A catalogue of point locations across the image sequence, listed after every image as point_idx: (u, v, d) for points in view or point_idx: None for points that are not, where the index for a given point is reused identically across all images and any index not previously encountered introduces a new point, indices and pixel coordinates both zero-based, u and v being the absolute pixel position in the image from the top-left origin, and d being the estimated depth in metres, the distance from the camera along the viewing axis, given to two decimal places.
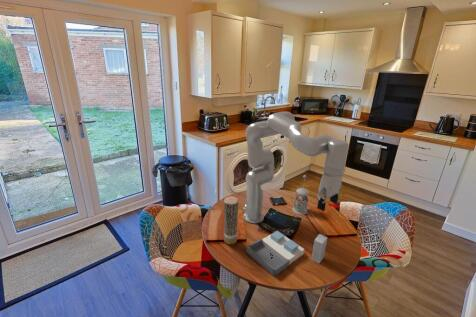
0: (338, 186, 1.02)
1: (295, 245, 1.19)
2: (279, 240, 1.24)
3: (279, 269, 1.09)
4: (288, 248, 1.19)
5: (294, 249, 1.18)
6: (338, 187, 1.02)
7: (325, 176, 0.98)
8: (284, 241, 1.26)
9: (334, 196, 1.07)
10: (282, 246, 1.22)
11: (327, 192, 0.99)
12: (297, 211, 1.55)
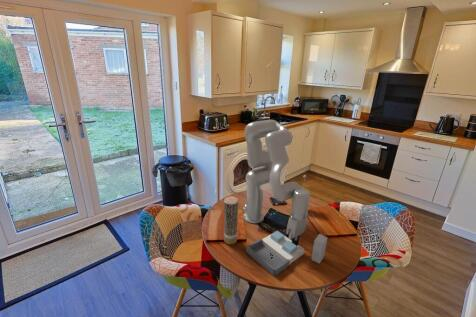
0: (303, 227, 1.18)
1: (294, 246, 1.19)
2: (279, 240, 1.24)
3: (279, 269, 1.09)
4: (287, 249, 1.18)
5: (293, 250, 1.18)
6: (303, 227, 1.18)
7: (291, 219, 1.14)
8: (284, 241, 1.26)
9: None
10: None
11: (293, 233, 1.15)
12: None
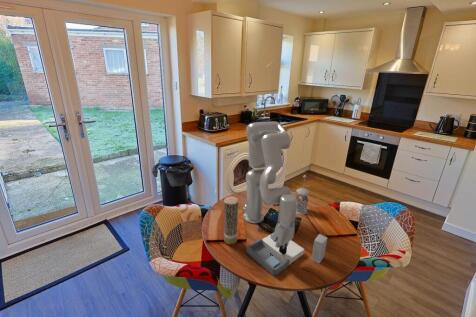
0: (291, 234, 1.12)
1: None
2: None
3: (279, 269, 1.09)
4: None
5: (276, 266, 1.12)
6: (290, 235, 1.12)
7: (278, 227, 1.09)
8: None
9: None
10: None
11: (280, 241, 1.09)
12: (297, 211, 1.55)
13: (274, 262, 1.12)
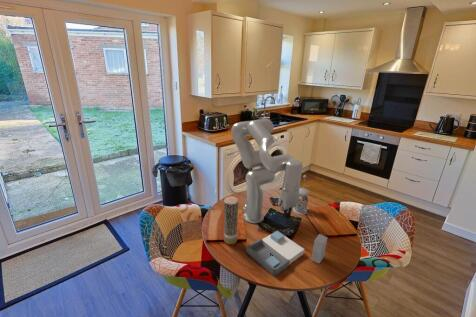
0: (295, 199, 1.17)
1: None
2: (279, 240, 1.24)
3: (279, 269, 1.09)
4: None
5: (276, 266, 1.12)
6: (295, 200, 1.17)
7: (283, 191, 1.14)
8: (284, 241, 1.26)
9: None
10: (282, 246, 1.22)
11: (284, 204, 1.14)
12: (297, 211, 1.55)
13: (274, 262, 1.12)
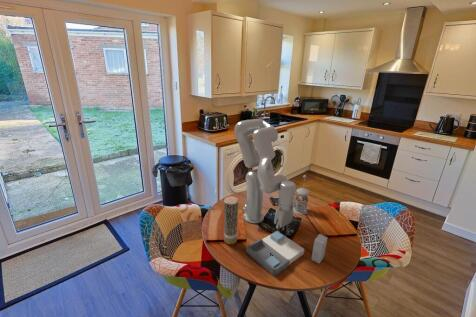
0: (290, 217, 1.25)
1: None
2: (279, 240, 1.24)
3: (279, 269, 1.09)
4: None
5: (276, 266, 1.12)
6: (290, 218, 1.25)
7: (278, 210, 1.21)
8: (284, 241, 1.26)
9: None
10: (282, 246, 1.22)
11: (280, 223, 1.22)
12: (297, 211, 1.55)
13: (274, 262, 1.12)
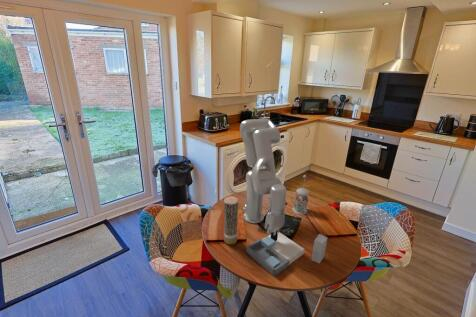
0: (281, 222, 1.21)
1: None
2: (270, 246, 1.20)
3: (279, 269, 1.09)
4: None
5: (276, 266, 1.12)
6: (281, 223, 1.20)
7: (268, 215, 1.17)
8: (284, 241, 1.26)
9: None
10: (282, 246, 1.22)
11: (270, 228, 1.17)
12: (297, 211, 1.55)
13: (274, 262, 1.12)
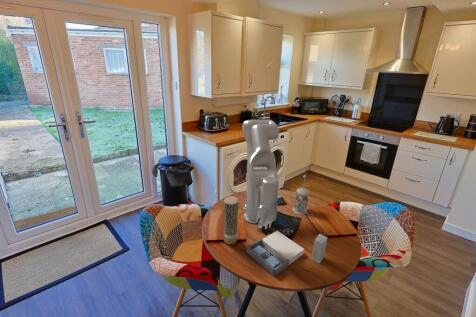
0: (273, 216, 1.15)
1: None
2: (264, 254, 1.19)
3: (279, 269, 1.09)
4: None
5: (276, 266, 1.12)
6: (272, 216, 1.15)
7: (260, 208, 1.12)
8: (284, 241, 1.26)
9: None
10: (282, 246, 1.22)
11: (261, 222, 1.12)
12: (297, 211, 1.55)
13: (274, 262, 1.12)
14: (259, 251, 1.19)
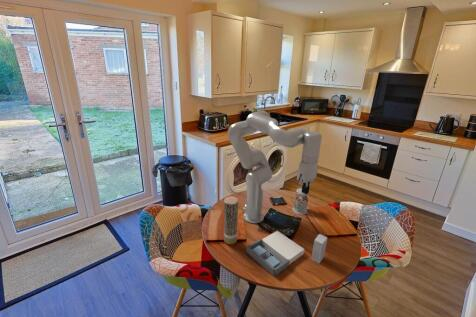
0: (314, 173, 1.16)
1: None
2: (264, 254, 1.19)
3: (279, 269, 1.09)
4: None
5: (276, 266, 1.12)
6: (314, 173, 1.16)
7: (302, 164, 1.12)
8: (284, 241, 1.26)
9: None
10: (282, 246, 1.22)
11: (304, 178, 1.13)
12: (297, 211, 1.55)
13: (274, 262, 1.12)
14: (259, 251, 1.19)
